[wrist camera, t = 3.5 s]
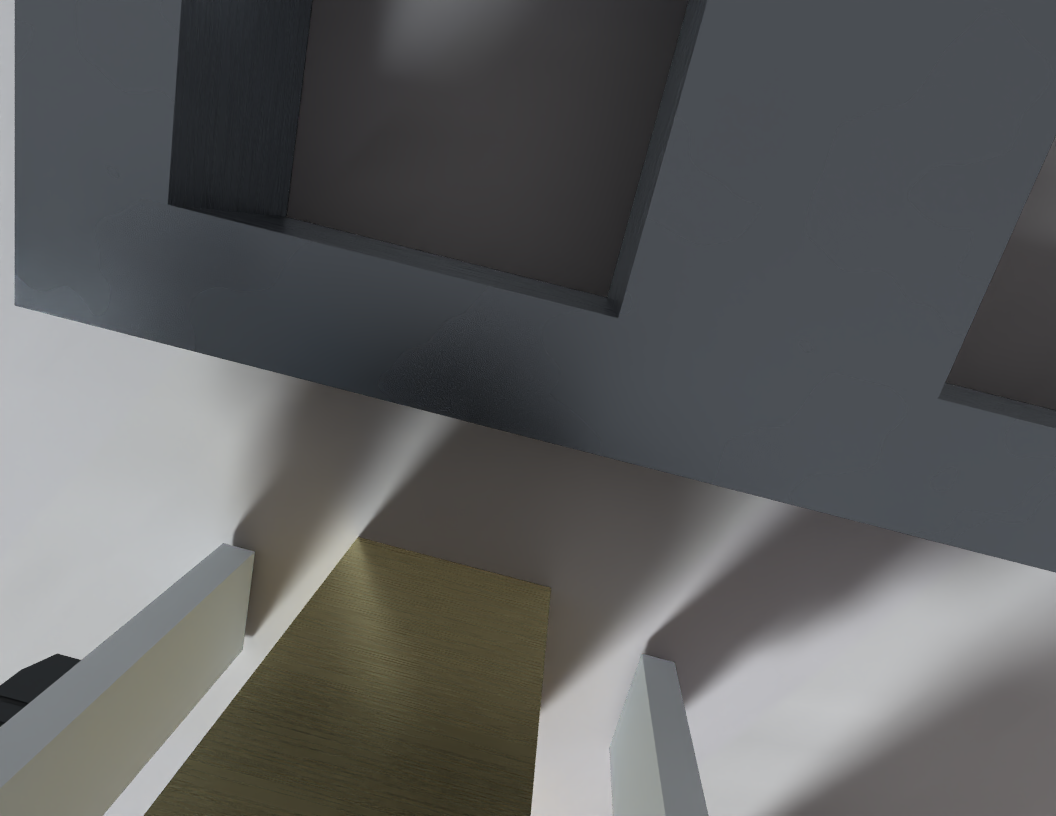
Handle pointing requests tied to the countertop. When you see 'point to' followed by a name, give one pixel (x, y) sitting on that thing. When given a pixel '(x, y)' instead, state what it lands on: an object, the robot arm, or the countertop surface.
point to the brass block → (383, 700)
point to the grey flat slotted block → (644, 260)
